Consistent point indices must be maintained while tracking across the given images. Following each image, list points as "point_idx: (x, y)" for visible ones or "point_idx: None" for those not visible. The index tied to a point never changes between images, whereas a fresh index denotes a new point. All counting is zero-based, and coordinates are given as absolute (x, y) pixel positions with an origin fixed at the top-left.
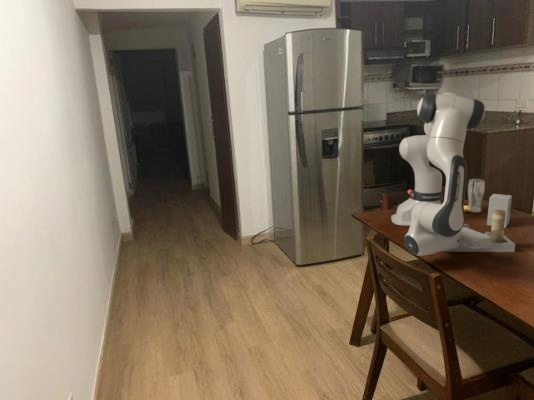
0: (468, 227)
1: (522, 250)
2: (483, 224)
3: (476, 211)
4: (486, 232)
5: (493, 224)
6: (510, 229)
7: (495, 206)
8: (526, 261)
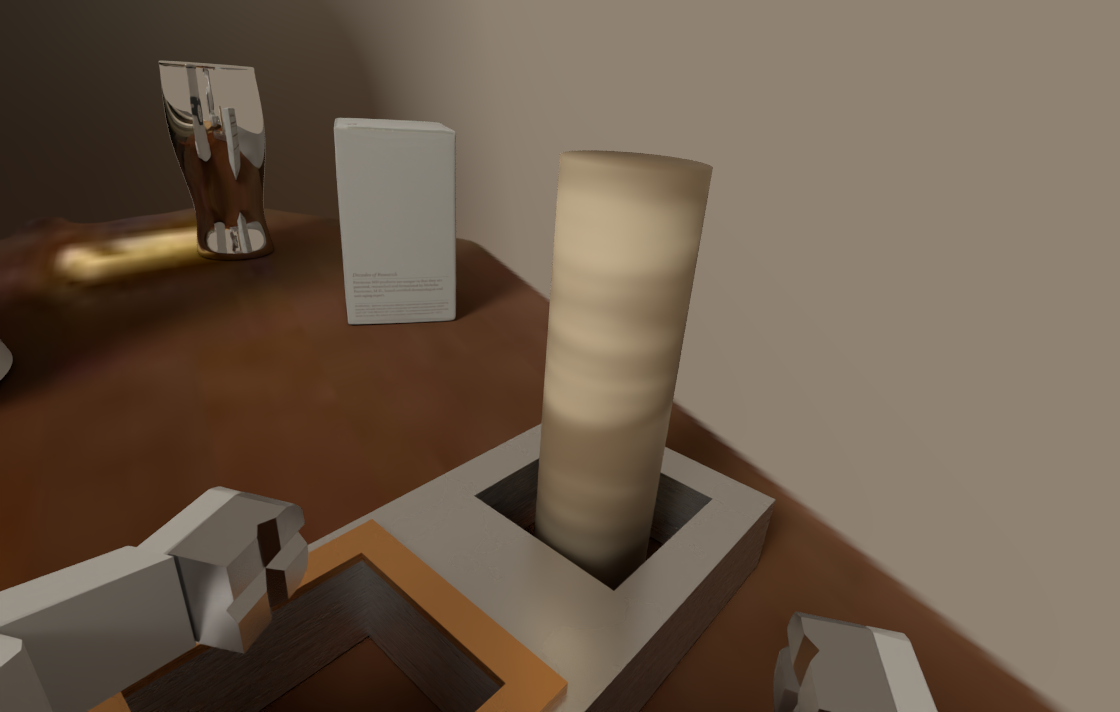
0: (297, 547)
1: None
2: (326, 324)
3: (250, 252)
4: (857, 679)
5: (596, 353)
6: (484, 324)
7: (382, 191)
8: (1020, 702)
